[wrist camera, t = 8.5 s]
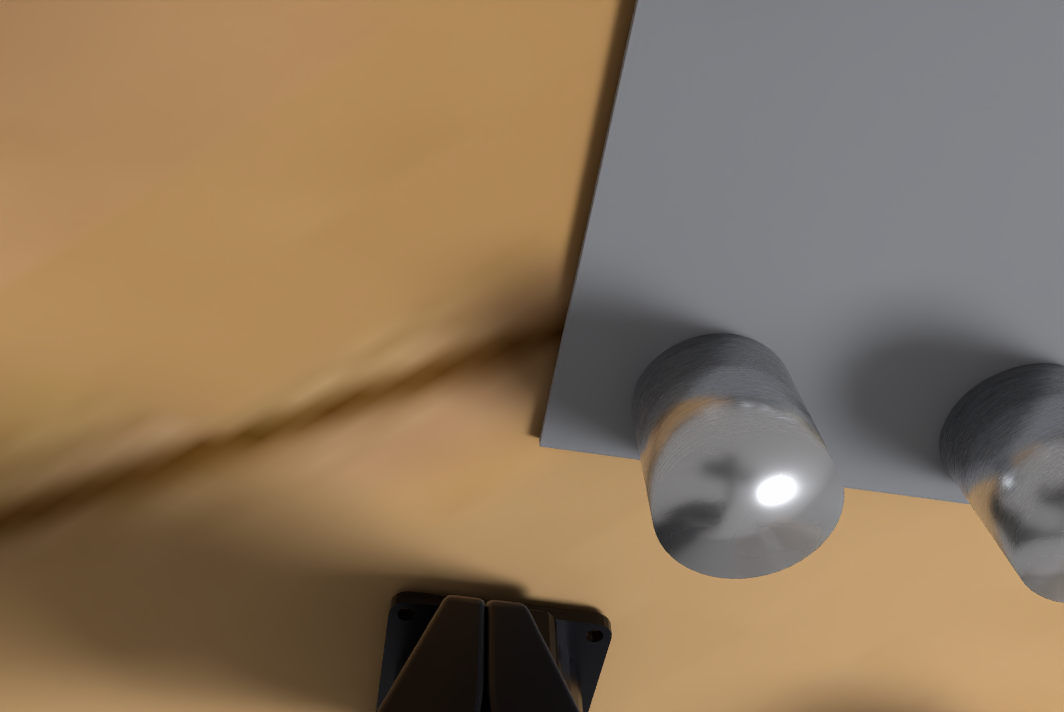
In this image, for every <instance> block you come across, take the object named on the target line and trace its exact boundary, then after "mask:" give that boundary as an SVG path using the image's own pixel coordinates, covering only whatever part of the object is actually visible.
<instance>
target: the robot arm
mask: <svg viewBox="0 0 1064 712" xmlns="http://www.w3.org/2000/svg"><path fill="white" fill-rule="evenodd" d="M404 608H408V609H411V610H404ZM591 630H598V631H594V632H591ZM611 636H612V633H611V624H610V621H609V619H608V618H607V617H605V616H604V615H600V614H596V613H588V612H579V611H570V610H562V609H553V608H545V607H536V606H527V605H524V604H522V603H517V602H508V601H500V600H490V601H484V600H482V599H480V598H474V597H466V596H457V595H449V596H441V595H433V594H424V593H416V592H401V593H398V594H396V595H395V596H394V597H393V598H392V600H391V603H390V609H389V616H388V624H387V631H386V639H385V647H384V654H383V662H382V670H381V678H380V685H379V693H378V701H377V709H376V712H588V711H589V708H590V704H591V701H592V698H593V695H594V692H595V689H596V685H597V682H598V679H599V676H600V673H601V670H602V666H603V663H604V660H605V657H606V654H607V650H608V647H609V644H610V641H611Z"/></svg>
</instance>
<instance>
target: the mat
mask: <svg viewBox="0 0 1064 712" xmlns="http://www.w3.org/2000/svg"><path fill="white" fill-rule="evenodd" d="M716 333H726V334H736V335H741V336H745V337H748V338H751V339H754V340H756V341H758V342H760V343H762V344H764V345H765V346H767V347H768V348H770V349H771V350H772V351H773V352H774V353H775V354H776V355H777V356H778V357H779V358H780V359H781V360H782V362H783V363H784V365H785V367H786V368H787V370H788V372H789V374H790V376H791V378H792V380H793V382H794V384H795V386H796V388H797V390H798V392H799V394H800V396H801V398H802V400H803V402H804V404H805V406H806V408H807V410H808V412H809V414H810V415H811V417H812V419H813V421H814V423H815V425H816V427H817V429H818V431H819V433H820V435H821V437H822V439H823V441H824V443H825V445H826V447H827V449H828V451H829V453H830V455H831V457H832V459H833V461H834V463H835V465H836V467H837V469H838V471H839V473H840V475H841V478H842V481H843V487H846V488H853V489H860V490H868V491H875V492H883V493H890V494H898V495H905V496H912V497H920V498H927V499H935V500H942V501H950V502H957V503H964V504H970V503H969V502H968V500H967V499H966V497H965V496H964V494H963V493H962V491H961V490H960V488H959V487H958V485H957V484H956V483H955V481H954V480H953V478H952V477H951V475H950V474H949V472H948V471H947V469H946V468H945V466H944V464H943V462H942V460H941V456H940V449H939V442H940V435H941V431H942V427H943V425H944V423H945V420H946V418H947V417H948V415H949V413H950V412H951V410H952V409H953V408H954V406H955V405H956V404H957V402H958V401H959V400H960V399H961V398H962V397H963V396H964V395H965V394H966V393H968V392H969V391H970V390H971V389H972V388H974V387H975V386H976V385H978V384H979V383H981V382H982V381H984V380H986V379H987V378H989V377H991V376H993V375H995V374H997V373H1000V372H1002V371H1005V370H1007V369H1010V368H1013V367H1018V366H1022V365H1027V364H1035V363H1049V364H1058V365H1062V366H1064V0H636V3H635V7H634V12H633V16H632V21H631V25H630V30H629V34H628V39H627V43H626V48H625V53H624V57H623V62H622V66H621V71H620V75H619V80H618V84H617V89H616V93H615V98H614V103H613V107H612V112H611V116H610V121H609V125H608V130H607V134H606V139H605V143H604V148H603V153H602V157H601V162H600V166H599V171H598V175H597V180H596V184H595V189H594V193H593V198H592V203H591V207H590V212H589V216H588V221H587V225H586V230H585V234H584V239H583V243H582V248H581V253H580V257H579V262H578V266H577V271H576V275H575V280H574V284H573V289H572V293H571V298H570V303H569V307H568V312H567V316H566V321H565V325H564V330H563V334H562V339H561V343H560V348H559V353H558V357H557V362H556V366H555V371H554V375H553V380H552V384H551V389H550V393H549V398H548V403H547V407H546V412H545V416H544V421H543V425H542V430H541V434H540V439H539V443H540V446H541V447H548V448H556V449H563V450H571V451H578V452H585V453H593V454H600V455H608V456H615V457H623V458H630V459H637V460H641V459H640V454H639V449H638V444H637V439H636V434H635V429H634V424H633V419H632V410H631V409H632V398H633V393H634V390H635V387H636V384H637V382H638V380H639V378H640V376H641V375H642V373H643V372H644V371H645V369H646V368H647V366H648V365H649V364H650V363H651V362H652V361H653V360H654V359H655V358H656V357H658V356H659V355H660V354H661V353H662V352H664V351H665V350H667V349H668V348H670V347H672V346H673V345H675V344H677V343H679V342H682V341H684V340H687V339H689V338H693V337H697V336H700V335H706V334H716Z"/></svg>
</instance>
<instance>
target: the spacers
mask: <svg viewBox="0 0 1064 712" xmlns="http://www.w3.org/2000/svg"><path fill="white" fill-rule="evenodd" d="M631 410H632V419H633V424H634V429H635V434H636V439H637V444H638V449H639V454H640V459H641V464H642V470H643V475H644V480H645V485H646V490H647V495H648V500H649V505H650V510H651V515H652V520H653V526H654V529H655V532H656V535H657V537H658V539H659V541H660V543H661V545H662V546H663V547H664V549H665V550H666V551H667V552H668V553H669V554H670V555H671V557H672V558H674V559H675V560H676V561H678V562H679V563H680V564H682V565H684V566H685V567H687V568H689V569H691V570H694V571H696V572H698V573H701V574H705V575H708V576H713V577H719V578H729V579H742V578H752V577H759V576H763V575H768V574H771V573H774V572H777V571H780V570H783V569H785V568H788V567H790V566H792V565H794V564H796V563H797V562H799V561H801V560H803V559H804V558H806V557H807V556H808V555H810V554H811V553H812V552H814V551H815V550H816V549H817V548H818V547H820V545H821V544H822V543H823V542H824V541H825V540H826V539H827V538H828V537H829V535H830V534H831V532H832V531H833V530H834V528H835V526H836V524H837V522H838V520H839V518H840V515H841V512H842V508H843V503H844V487H843V481H842V478H841V475H840V473H839V471H838V469H837V467H836V465H835V463H834V461H833V459H832V457H831V455H830V453H829V451H828V449H827V447H826V445H825V443H824V441H823V439H822V437H821V435H820V433H819V431H818V429H817V427H816V425H815V423H814V421H813V419H812V417H811V415H810V414H809V412H808V410H807V408H806V406H805V404H804V402H803V400H802V398H801V396H800V394H799V392H798V390H797V388H796V386H795V384H794V382H793V380H792V378H791V376H790V374H789V372H788V370H787V368H786V367H785V365H784V363H783V362H782V360H781V359H780V358H779V357H778V356H777V355H776V354H775V353H774V352H773V351H772V350H771V349H770V348H768V347H767V346H765V345H764V344H762V343H760V342H758V341H756V340H754V339H751V338H748V337H745V336H741V335H736V334H726V333H716V334H706V335H700V336H697V337H693V338H689V339H687V340H684V341H682V342H679V343H677V344H675V345H673V346H672V347H670V348H668V349H667V350H665V351H664V352H662V353H661V354H660V355H659V356H658V357H656V358H655V359H654V360H653V361H652V362H651V363H650V364H649V365H648V366H647V368H646V369H645V371H644V372H643V373H642V375H641V376H640V378H639V380H638V382H637V384H636V387H635V390H634V393H633V398H632V409H631ZM939 449H940V456H941V460H942V462H943V464H944V466H945V468H946V469H947V471H948V472H949V474H950V475H951V477H952V478H953V480H954V481H955V483H956V484H957V485H958V487H959V488H960V490H961V491H962V493H963V494H964V496H965V497H966V499H967V500H968V502H969V503H970V505H971V506H972V507H973V509H974V510H975V512H976V513H977V515H978V516H979V518H980V519H981V521H982V522H983V524H984V525H985V527H986V528H987V529H988V531H989V532H990V534H991V535H992V537H993V538H994V540H995V541H996V543H997V544H998V546H999V547H1000V549H1001V550H1002V552H1003V553H1004V554H1005V556H1006V557H1007V559H1008V560H1009V562H1010V563H1011V565H1012V566H1013V568H1014V569H1015V571H1016V572H1017V574H1018V575H1019V576H1020V578H1021V579H1022V581H1023V582H1024V584H1025V585H1026V586H1027V587H1028V588H1030V589H1031V590H1032V591H1033V592H1035V593H1036V594H1038V595H1040V596H1042V597H1044V598H1046V599H1050V600H1053V601H1056V602H1061V603H1064V366H1062V365H1058V364H1049V363H1035V364H1027V365H1022V366H1018V367H1013V368H1010V369H1007V370H1005V371H1002V372H1000V373H997V374H995V375H993V376H991V377H989V378H987V379H986V380H984V381H982V382H981V383H979V384H978V385H976V386H975V387H974V388H972V389H971V390H970V391H969V392H968V393H966V394H965V395H964V396H963V397H962V398H961V399H960V400H959V401H958V402H957V404H956V405H955V406H954V408H953V409H952V410H951V412H950V413H949V415H948V417H947V418H946V420H945V423H944V425H943V427H942V431H941V435H940V442H939Z"/></svg>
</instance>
